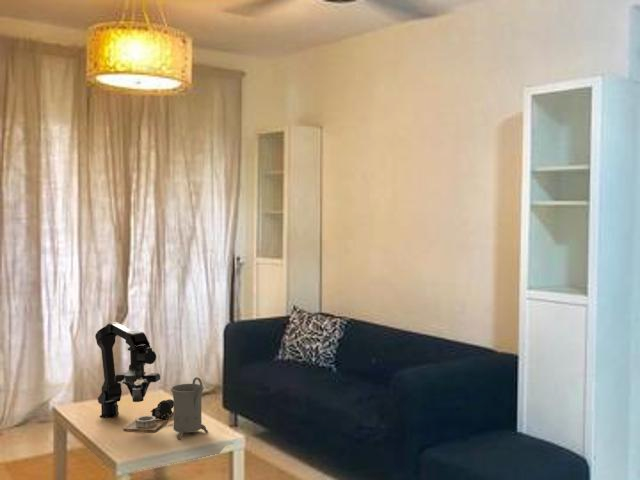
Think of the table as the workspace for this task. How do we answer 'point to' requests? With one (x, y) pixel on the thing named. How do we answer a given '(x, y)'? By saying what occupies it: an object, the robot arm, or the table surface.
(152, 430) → the mount plate
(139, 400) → the lens
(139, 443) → the table surface
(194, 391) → the grey footed pail
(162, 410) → the night vision scope
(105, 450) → the table surface
